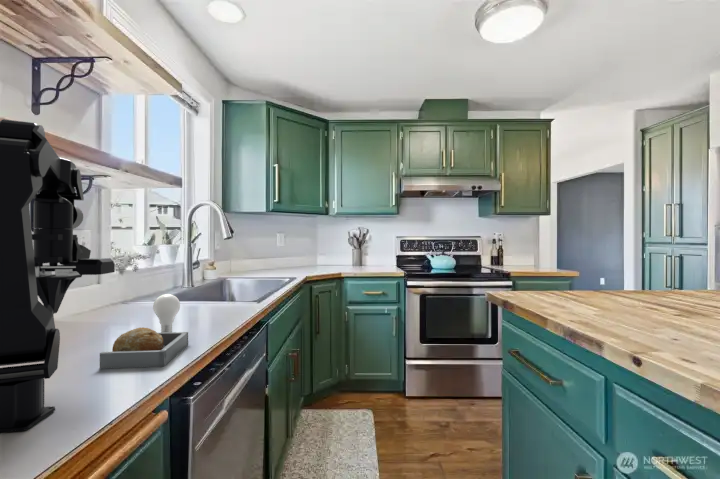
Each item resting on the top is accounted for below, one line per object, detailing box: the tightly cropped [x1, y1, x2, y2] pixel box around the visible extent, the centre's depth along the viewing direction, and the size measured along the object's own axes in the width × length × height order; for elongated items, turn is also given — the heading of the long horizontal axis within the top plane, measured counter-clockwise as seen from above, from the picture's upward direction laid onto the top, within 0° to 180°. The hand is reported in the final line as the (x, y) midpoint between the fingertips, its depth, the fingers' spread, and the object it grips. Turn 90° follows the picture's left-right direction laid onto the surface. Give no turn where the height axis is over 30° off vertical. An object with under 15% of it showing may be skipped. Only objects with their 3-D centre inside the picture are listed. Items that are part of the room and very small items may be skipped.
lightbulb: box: [152, 293, 181, 333], centre depth 101 cm, size 6×6×11 cm
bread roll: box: [111, 327, 165, 352], centre depth 84 cm, size 10×10×8 cm
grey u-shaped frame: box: [99, 331, 189, 369], centre depth 85 cm, size 16×12×3 cm
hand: (53, 313), depth 71 cm, fingers closed
